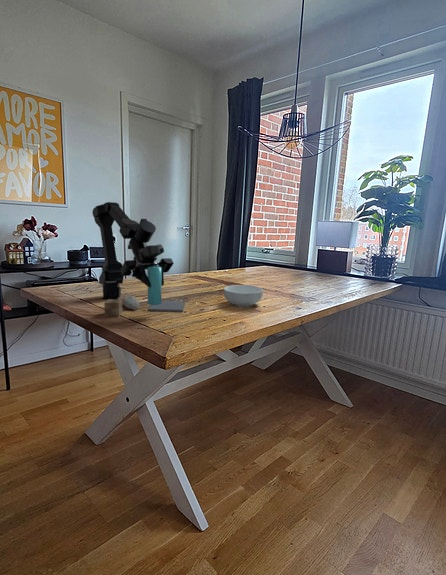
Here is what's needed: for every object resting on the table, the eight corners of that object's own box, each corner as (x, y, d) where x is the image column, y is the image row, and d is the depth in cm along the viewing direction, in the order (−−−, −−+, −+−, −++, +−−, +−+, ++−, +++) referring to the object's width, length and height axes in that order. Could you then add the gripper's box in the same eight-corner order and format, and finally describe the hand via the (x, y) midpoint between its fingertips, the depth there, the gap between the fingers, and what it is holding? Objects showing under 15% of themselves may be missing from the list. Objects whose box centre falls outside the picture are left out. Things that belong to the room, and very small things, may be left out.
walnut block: (104, 316, 117) (104, 302, 116) (108, 312, 122) (108, 299, 121) (119, 316, 117) (118, 303, 116) (122, 312, 122) (122, 299, 121)
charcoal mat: (148, 310, 126) (148, 308, 126) (154, 302, 138) (154, 300, 138) (182, 311, 126) (182, 309, 126) (185, 303, 139) (185, 301, 139)
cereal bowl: (227, 298, 151) (228, 283, 150) (263, 301, 148) (264, 286, 147) (219, 307, 135) (220, 290, 134) (259, 311, 132) (261, 294, 131)
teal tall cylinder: (146, 304, 115) (146, 267, 112) (148, 301, 120) (149, 265, 117) (160, 305, 115) (160, 268, 113) (162, 301, 120) (162, 266, 117)
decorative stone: (127, 312, 124) (127, 303, 123) (119, 302, 137) (119, 294, 136) (143, 310, 127) (143, 302, 126) (134, 301, 140) (133, 293, 139)
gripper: (123, 236, 109) (140, 274, 104) (171, 236, 122) (188, 270, 116) (114, 257, 117) (129, 293, 111) (159, 255, 129) (175, 288, 123)
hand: (156, 285), depth 115 cm, fingers closed on teal tall cylinder, 5 cm apart
